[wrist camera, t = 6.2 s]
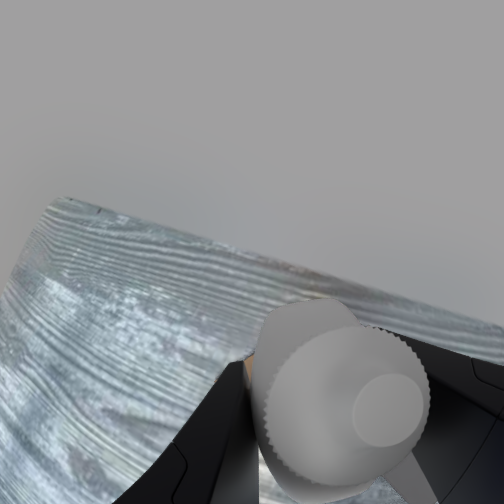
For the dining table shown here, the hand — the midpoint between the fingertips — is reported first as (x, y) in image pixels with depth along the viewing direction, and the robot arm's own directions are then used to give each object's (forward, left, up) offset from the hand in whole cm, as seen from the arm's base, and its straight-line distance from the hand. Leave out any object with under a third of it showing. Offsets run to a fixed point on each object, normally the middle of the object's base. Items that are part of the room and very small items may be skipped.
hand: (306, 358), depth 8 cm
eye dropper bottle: (-1, +1, -6) cm, 7 cm away
